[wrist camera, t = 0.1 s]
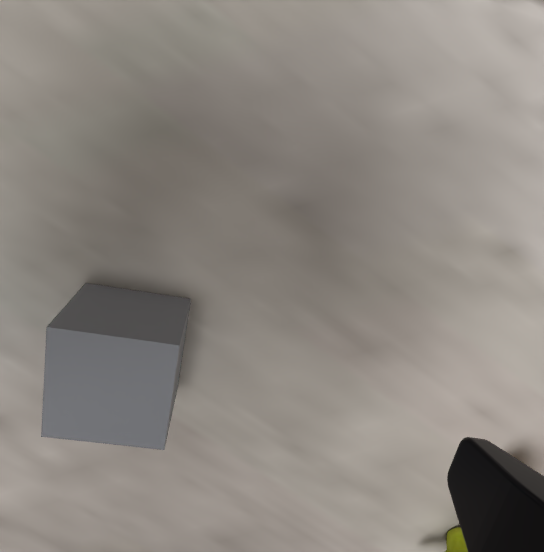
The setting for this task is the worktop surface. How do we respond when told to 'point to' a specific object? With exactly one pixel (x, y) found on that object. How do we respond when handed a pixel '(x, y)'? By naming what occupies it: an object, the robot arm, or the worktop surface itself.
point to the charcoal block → (114, 366)
